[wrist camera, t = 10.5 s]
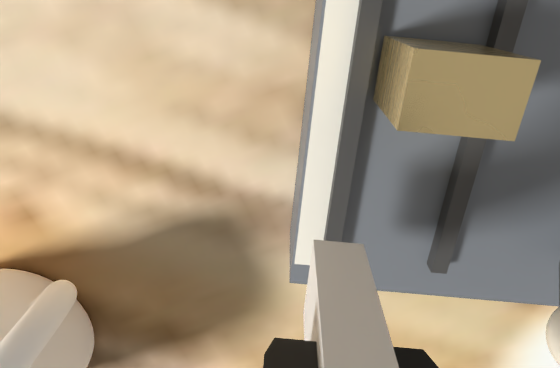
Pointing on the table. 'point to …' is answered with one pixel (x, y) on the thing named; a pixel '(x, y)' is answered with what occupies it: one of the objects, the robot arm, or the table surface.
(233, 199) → the table surface
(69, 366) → the mug
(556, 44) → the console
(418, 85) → the brass slider
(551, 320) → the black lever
